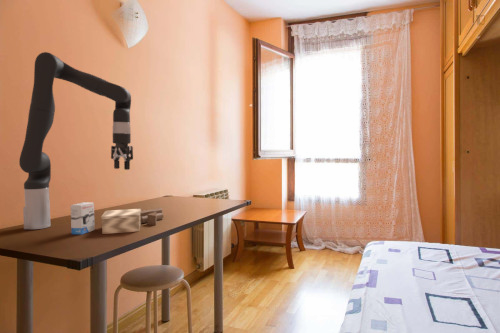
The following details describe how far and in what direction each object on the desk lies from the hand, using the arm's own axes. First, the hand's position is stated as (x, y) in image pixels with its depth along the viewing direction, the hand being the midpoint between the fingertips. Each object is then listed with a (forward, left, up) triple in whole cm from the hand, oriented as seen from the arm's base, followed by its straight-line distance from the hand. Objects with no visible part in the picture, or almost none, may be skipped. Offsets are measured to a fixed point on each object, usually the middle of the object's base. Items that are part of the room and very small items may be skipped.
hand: (121, 169), depth 153 cm
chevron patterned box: (0, -10, -25) cm, 27 cm away
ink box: (-15, -11, -25) cm, 31 cm away
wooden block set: (+14, +4, -26) cm, 30 cm away
